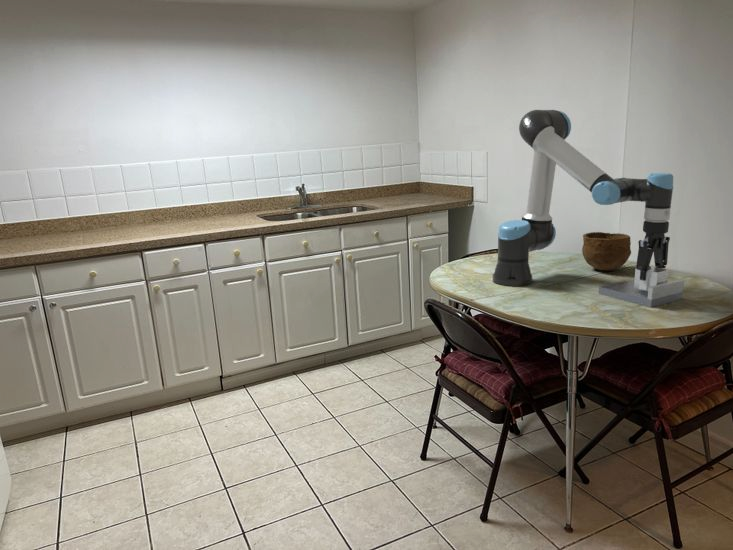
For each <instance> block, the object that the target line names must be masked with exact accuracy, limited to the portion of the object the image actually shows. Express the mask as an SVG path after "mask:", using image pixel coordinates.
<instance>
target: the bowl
mask: <svg viewBox="0 0 733 550" xmlns="http://www.w3.org/2000/svg"><path fill="white" fill-rule="evenodd" d="M582 237H583V245H582V248H581V253H582V256H583V259H584V260H585V262H586V264H587V265H589V266H590V267H592V268H593V269H595V270H599V271H604V272H605V271H606V272H607V271H615V270H618V269H620V268H621V267H623V265H625V264H626V263H627V261H628V260H629V258H630V256H631V255H632V249H631V244H632V243H631V236H630V235H628V234H626V233H619V232H618V233H610V232H604V231H603V232H602V231H595V232H593V231H592V232H586V233H584V234H583V235H582Z"/></svg>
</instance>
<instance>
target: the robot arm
mask: <svg viewBox="0 0 733 550" xmlns="http://www.w3.org/2000/svg"><path fill="white" fill-rule="evenodd" d="M518 130H519V135H520V137H521V139H522V140H523V141H524V142H525V143H526V144H528V146H530V147H531V148H532V150H533V152H534V153H533V157H532V159H533V160H532V167H531V173H530V174H531V175H530V180H529V181H530V182H529V189H528V197H527V198H528V199H527V205H526V212H525V213H523V214H522V216H521V219H514V220H507V221H505V222H502V223H501V224H499V227H498V233H497V238H498V239H497V262H496V265H495V269H494V272H493V273H492V282H493V283H494V284H497V285H501V286H507V287H508V286H510V287H520V286H521V287H522V286H527V285H530V284H532V283H533V275H532V271H531V268H530V264H529V258H530V257H529V255H530V252H534V251H541V250H544V249H545V248H548V247H549V246H551V245H552V244H553V242H554V240H555V238H556V231H557V230H556V228H555V226H554V224H553V217H552V216H551V215H550V208H551V203H552V194H553V188H554V181H555V173H556V167H557V166H558V167H560V168H561V169H562V170H563V171H565V172H566V173H567V174H568V175H569V176H570V177H571V178H573V179H574V180H576V182H578V183H579V184H580V185H582V186H583V187H584V188H585V189H586V190H588V191H589V192H590V193H591V197H592V199H593V201H594V203H597V204H598V205H600V206H601V205H602V206H608V205H609V206H611V205H614V204H618V203H625V202H641V203H642V202H644V204H645V206H644V211H643V212H644V214H643V219H644V221H643V222H642V223H643V225H642V231H643V233H645V236H644V239H643V240H641V239H639V240H638V242H637V243H638V251H637V259H636V265H635V268H636V269H638V270H640V283H639V289H643V290H648V282H649V272H650V271H648V268H649V266H650V265H651V261H652V258H654V267H655V268H661V269H666V267H667V265H668V258H669V244H670V243H669V242H670V239H671V237H670V236H666V234H667V233H668V232H669V227H670V222H669V220H670V215H671V208H672V207H671V206H672V199H673V192H674V191H673V190H674V175H673V174H671V173H666V172H661V173H660V172H655V173H654V172H651V173H649V174H648V175H647V178H627V177H618V178H613V177H611V176H610V175H609V174H607V172H605V171H604V170H603V169H601V168H600V167H599V166H597V165H596V164H595V163H594V162H593V161H591V160H590V159H589V158H588V157H586V156H585V155H583V154H582V153H581V152H580V151H579V150H578V149H576V148H575V147H574V146H572V145H571V144H570V143H569V142H567V141H566V139H567V138H568V137H569V136H570V134H571V131H572V123H571V120H570V118H569V116H568V115H567V114H566V113H565V112H564V111H561V110H555V109H534V110H533V109H532V110H530V111H529V112H526V113H525V114H524V115H523V116H522V118H521V119H520V121H519V125H518ZM556 165H557V166H556Z"/></svg>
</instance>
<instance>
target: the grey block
mask: <svg viewBox="0 0 733 550" xmlns="http://www.w3.org/2000/svg"><path fill="white" fill-rule="evenodd" d="M648 271H650V272H649V282H648V287H651V286H655V285H659V284H663V283H667V282H669V281H668V279H669V271H670V270H669V269H666V268H662V269H661V268H655V266H650V265H649V268H648ZM633 281H634V288H636V289H639V283H640V270H638V269H636V267H635V272H634V280H633ZM641 290H643V289H641ZM645 291H648V290H645Z"/></svg>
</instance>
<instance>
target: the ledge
mask: <svg viewBox="0 0 733 550" xmlns="http://www.w3.org/2000/svg"><path fill="white" fill-rule="evenodd" d="M684 283H685V280H684V279H677V280H676V279H675V280H672V281H668V282H667V283H663V284H659V285H655V286H651V287H648V291H645V290H641V289H636V288H634V280H633V279H628V280H627V279H626V280H622V281H619V282H614V283H610V284H606V285H605V284H604V285H601V286H598V294H599V295H603V296H606V297H611V298H613V299H614V298H615V299H618V300H622V301H626V302H629V303H632V304H637V305H640V306H644V307H649V308H654V307H657V306H660V305H664V304H669V303H672V302H675V301H680V300H682V299H683V292H684V287H685V286H684V285H685V284H684Z"/></svg>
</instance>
